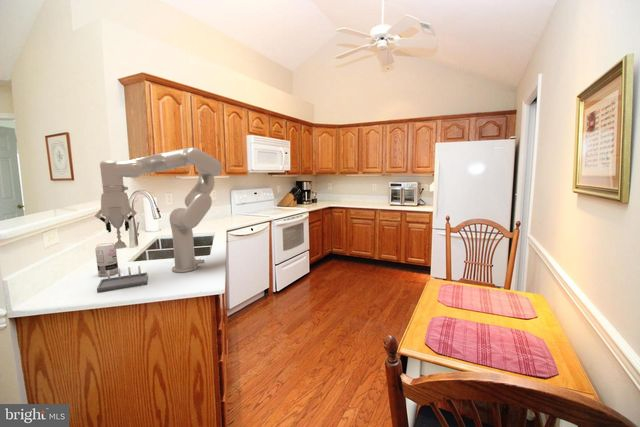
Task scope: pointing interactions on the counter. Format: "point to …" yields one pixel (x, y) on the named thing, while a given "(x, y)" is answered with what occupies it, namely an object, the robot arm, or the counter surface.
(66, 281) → the counter surface
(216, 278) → the counter surface
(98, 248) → the supplement can
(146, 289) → the counter surface
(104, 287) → the drying rack
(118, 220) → the chalice
